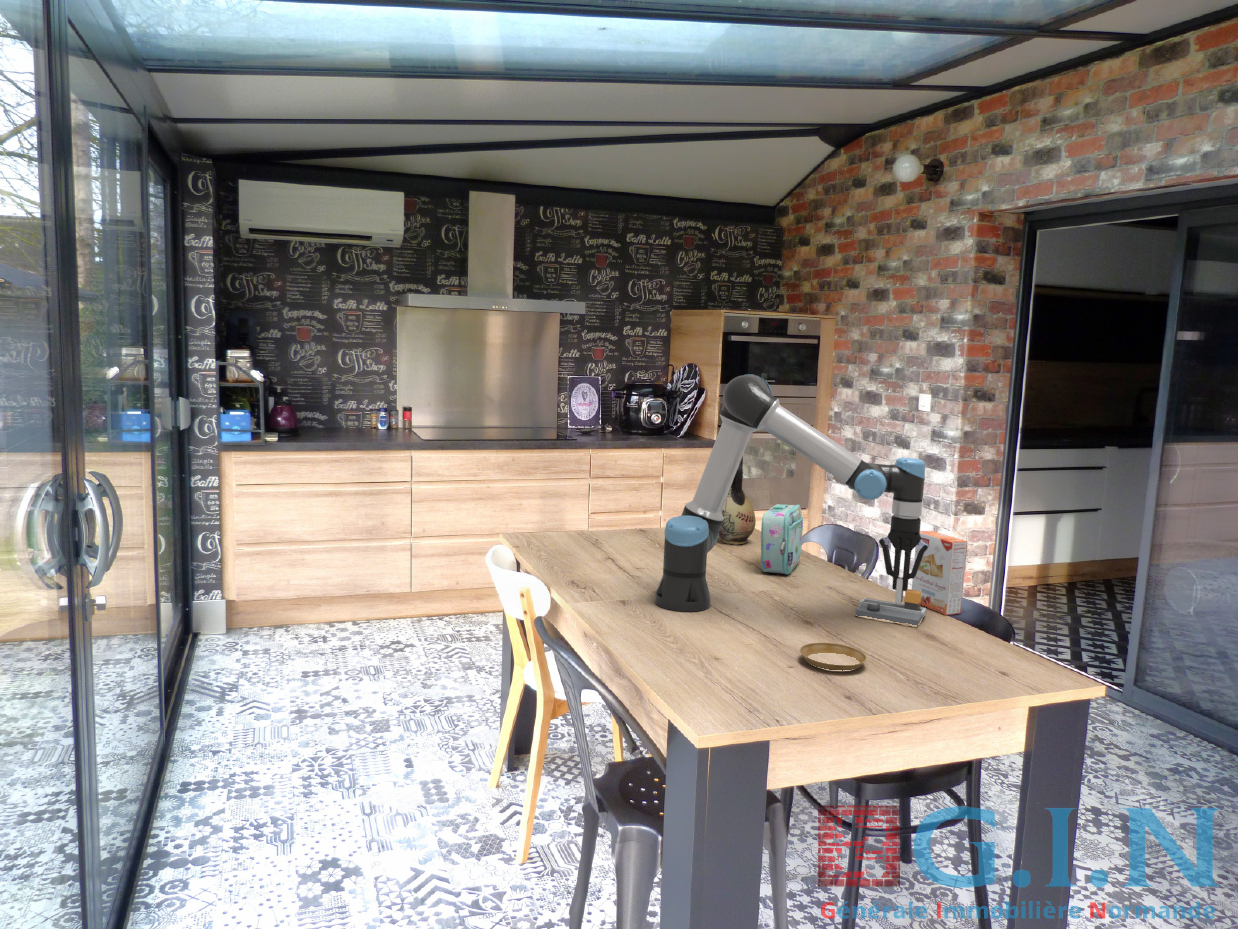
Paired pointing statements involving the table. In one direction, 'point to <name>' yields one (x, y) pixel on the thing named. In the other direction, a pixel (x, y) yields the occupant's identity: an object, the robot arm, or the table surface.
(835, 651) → the plant saucer
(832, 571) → the table surface
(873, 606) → the console
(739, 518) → the ceramic jug
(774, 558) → the lunch box
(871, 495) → the robot arm
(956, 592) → the cracker box
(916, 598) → the fader tab
